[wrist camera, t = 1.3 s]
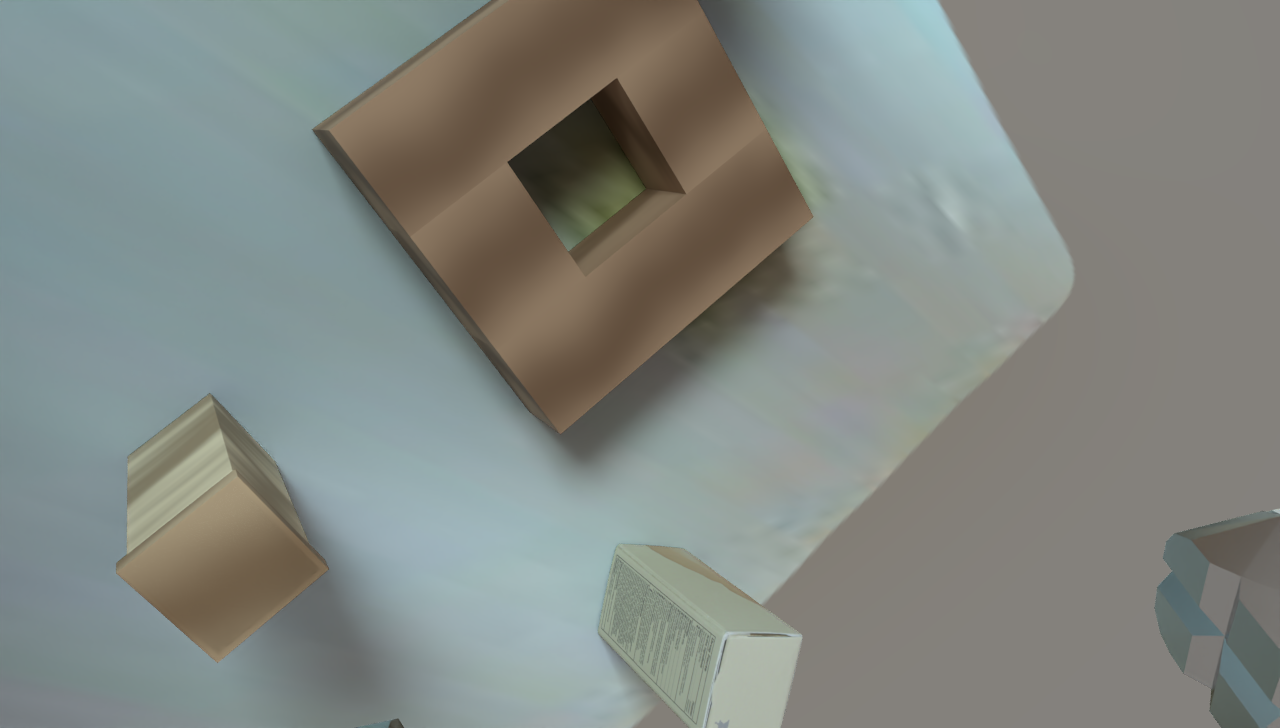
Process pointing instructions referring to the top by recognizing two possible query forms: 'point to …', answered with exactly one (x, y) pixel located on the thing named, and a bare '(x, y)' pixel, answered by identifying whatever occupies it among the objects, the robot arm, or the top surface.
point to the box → (698, 639)
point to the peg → (213, 530)
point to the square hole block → (513, 224)
